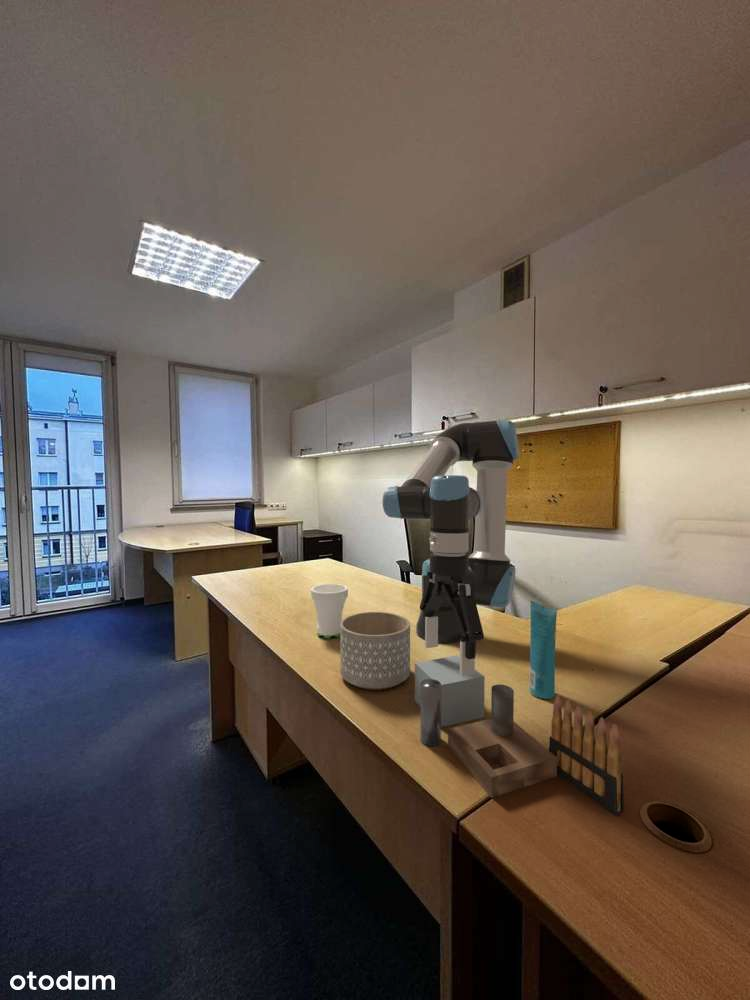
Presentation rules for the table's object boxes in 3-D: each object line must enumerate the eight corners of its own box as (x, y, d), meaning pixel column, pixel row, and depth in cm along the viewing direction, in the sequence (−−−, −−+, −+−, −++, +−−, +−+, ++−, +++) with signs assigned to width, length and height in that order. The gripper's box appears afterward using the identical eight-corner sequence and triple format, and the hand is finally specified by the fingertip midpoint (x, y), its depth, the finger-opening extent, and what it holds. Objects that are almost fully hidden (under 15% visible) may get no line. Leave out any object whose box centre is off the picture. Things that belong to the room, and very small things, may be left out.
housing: (456, 691, 85) (456, 655, 85) (484, 717, 76) (484, 676, 75) (414, 700, 82) (414, 662, 81) (438, 728, 72) (438, 685, 72)
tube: (564, 699, 82) (565, 608, 81) (548, 704, 80) (549, 611, 79) (535, 683, 89) (536, 599, 88) (520, 688, 87) (520, 602, 86)
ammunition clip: (547, 767, 62) (548, 692, 62) (555, 763, 63) (556, 690, 63) (616, 816, 53) (618, 729, 52) (624, 811, 54) (625, 725, 53)
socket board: (505, 730, 71) (505, 677, 71) (556, 776, 60) (557, 712, 60) (447, 746, 67) (448, 688, 67) (491, 798, 56) (492, 729, 56)
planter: (424, 676, 92) (424, 622, 92) (374, 702, 81) (374, 642, 80) (375, 654, 104) (375, 607, 104) (326, 675, 93) (325, 622, 92)
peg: (434, 731, 71) (434, 677, 71) (444, 743, 68) (445, 687, 67) (416, 736, 70) (416, 681, 70) (426, 748, 67) (426, 690, 66)
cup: (328, 625, 126) (328, 581, 126) (355, 633, 120) (355, 586, 119) (303, 636, 117) (302, 589, 117) (330, 645, 110) (330, 595, 110)
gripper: (405, 546, 88) (404, 639, 88) (468, 565, 65) (467, 692, 65) (434, 544, 91) (434, 635, 91) (505, 562, 67) (504, 685, 68)
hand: (447, 659), depth 78 cm, fingers open, 13 cm apart
